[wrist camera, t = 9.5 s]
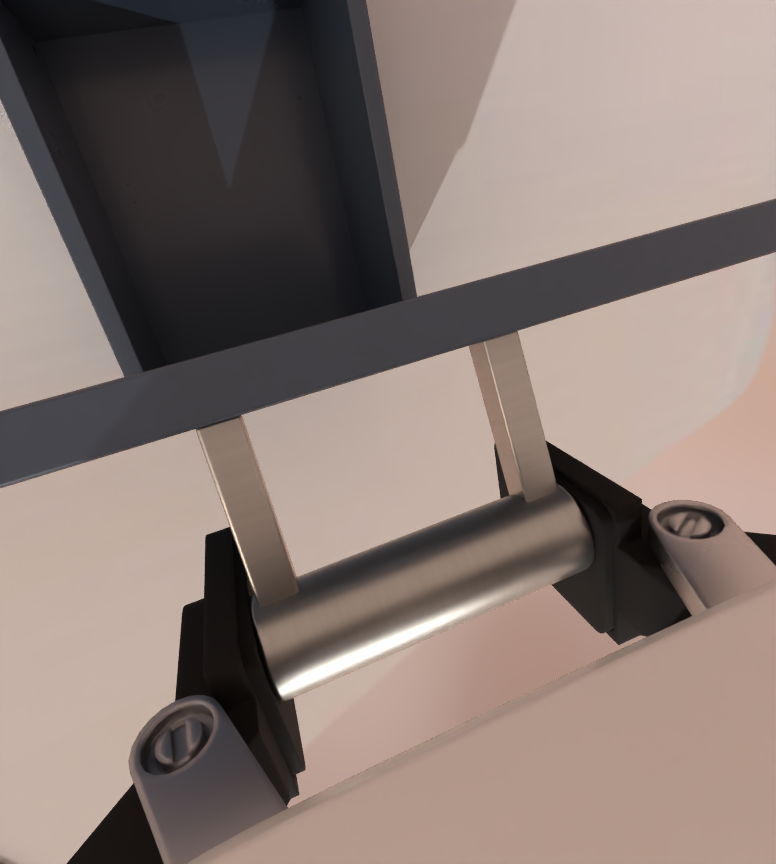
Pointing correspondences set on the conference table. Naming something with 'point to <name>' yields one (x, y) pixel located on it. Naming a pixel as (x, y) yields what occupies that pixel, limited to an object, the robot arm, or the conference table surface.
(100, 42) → the dark grey bin
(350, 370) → the box lid with handle
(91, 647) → the conference table surface
